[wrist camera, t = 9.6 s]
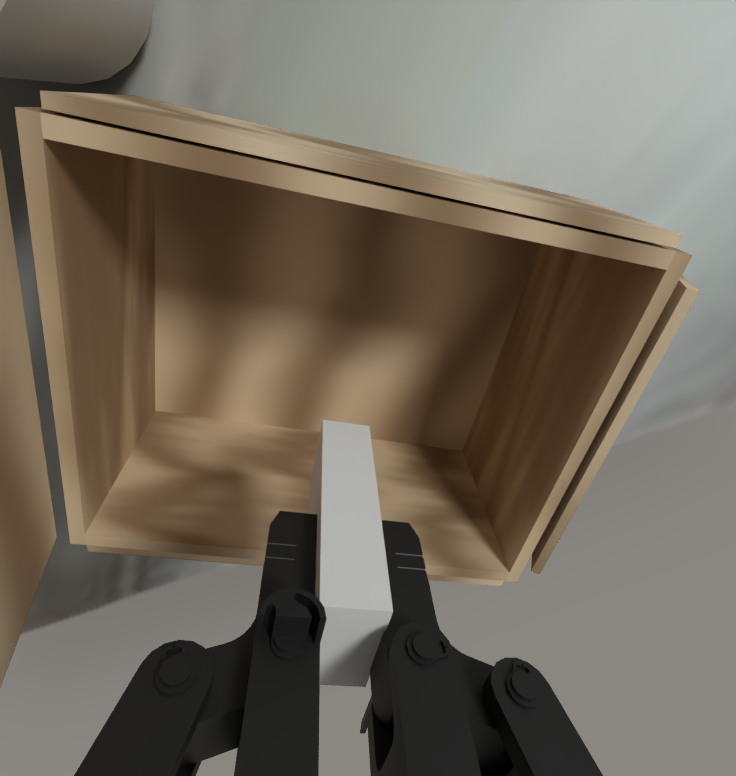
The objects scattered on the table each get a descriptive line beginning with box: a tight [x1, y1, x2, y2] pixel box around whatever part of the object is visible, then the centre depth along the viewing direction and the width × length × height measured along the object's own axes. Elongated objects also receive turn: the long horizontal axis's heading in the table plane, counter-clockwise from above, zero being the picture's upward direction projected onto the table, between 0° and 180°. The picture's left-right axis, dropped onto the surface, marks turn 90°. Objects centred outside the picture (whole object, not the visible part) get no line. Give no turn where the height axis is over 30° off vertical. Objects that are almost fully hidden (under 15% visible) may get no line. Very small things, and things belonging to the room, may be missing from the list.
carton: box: [15, 91, 692, 586], centre depth 22 cm, size 20×17×10 cm
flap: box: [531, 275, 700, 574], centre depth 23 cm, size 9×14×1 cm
